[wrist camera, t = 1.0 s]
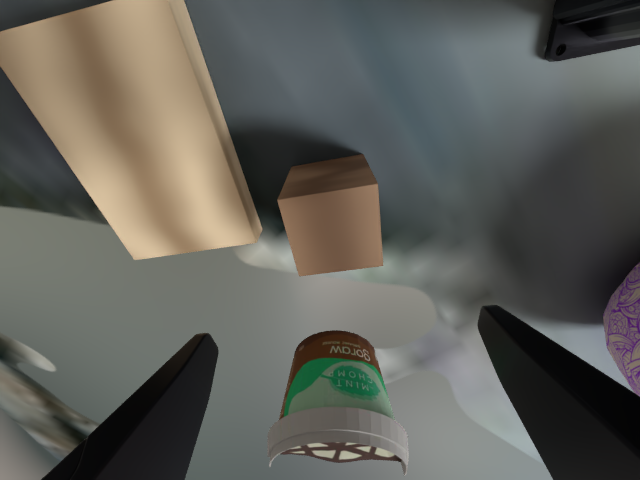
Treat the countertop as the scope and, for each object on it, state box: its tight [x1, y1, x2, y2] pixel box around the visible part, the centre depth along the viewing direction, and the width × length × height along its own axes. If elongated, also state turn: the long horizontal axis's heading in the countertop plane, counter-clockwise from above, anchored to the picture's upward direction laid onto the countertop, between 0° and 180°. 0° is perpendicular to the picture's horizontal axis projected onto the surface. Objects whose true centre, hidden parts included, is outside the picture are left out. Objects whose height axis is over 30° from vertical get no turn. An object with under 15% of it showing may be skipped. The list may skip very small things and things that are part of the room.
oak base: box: [0, 0, 262, 260], centre depth 17 cm, size 10×14×2 cm
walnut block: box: [277, 154, 383, 276], centre depth 16 cm, size 5×5×6 cm
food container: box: [268, 331, 409, 475], centre depth 24 cm, size 12×6×10 cm, turn 85°
